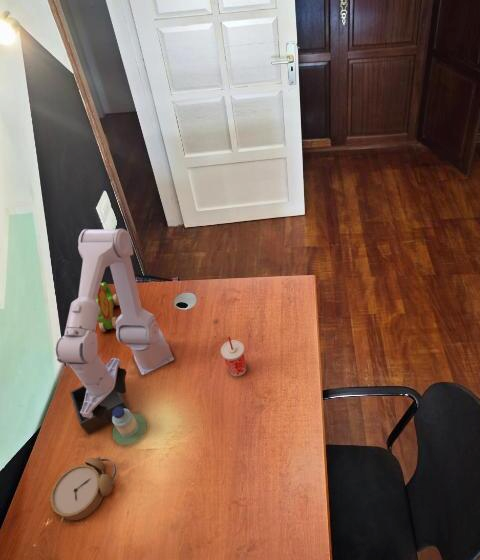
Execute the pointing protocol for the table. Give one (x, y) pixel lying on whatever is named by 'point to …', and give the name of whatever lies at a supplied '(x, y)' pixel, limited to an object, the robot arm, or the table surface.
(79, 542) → the table surface
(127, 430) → the bottle
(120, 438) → the coaster
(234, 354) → the beverage cup
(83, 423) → the bin
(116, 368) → the robot arm
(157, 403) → the table surface
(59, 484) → the alarm clock
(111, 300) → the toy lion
